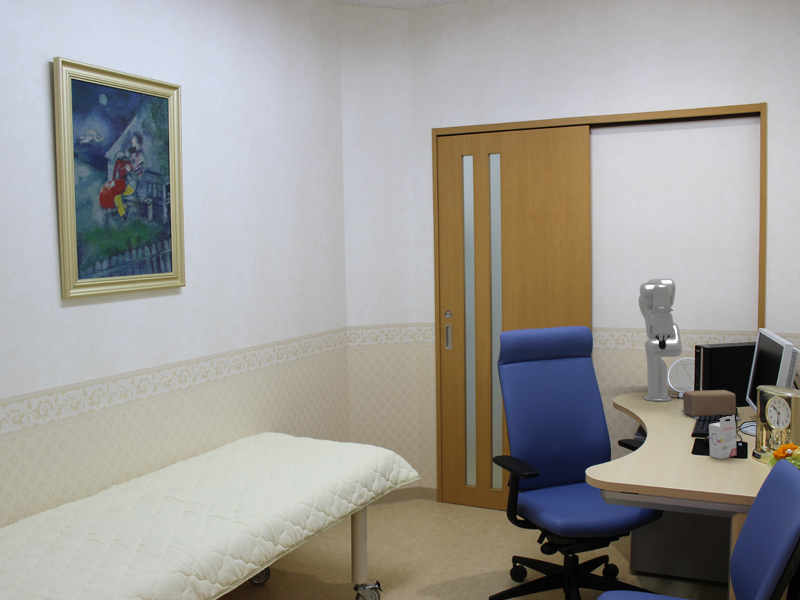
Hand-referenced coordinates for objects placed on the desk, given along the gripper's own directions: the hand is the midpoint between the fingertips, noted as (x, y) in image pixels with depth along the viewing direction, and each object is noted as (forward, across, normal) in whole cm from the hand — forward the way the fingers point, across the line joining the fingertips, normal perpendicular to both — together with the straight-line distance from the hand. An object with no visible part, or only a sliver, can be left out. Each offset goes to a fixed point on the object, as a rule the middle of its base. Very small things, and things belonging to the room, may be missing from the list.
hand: (662, 349), depth 319 cm
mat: (+29, -16, +15) cm, 36 cm away
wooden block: (+24, -6, +15) cm, 28 cm away
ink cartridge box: (+29, +5, +81) cm, 86 cm away
